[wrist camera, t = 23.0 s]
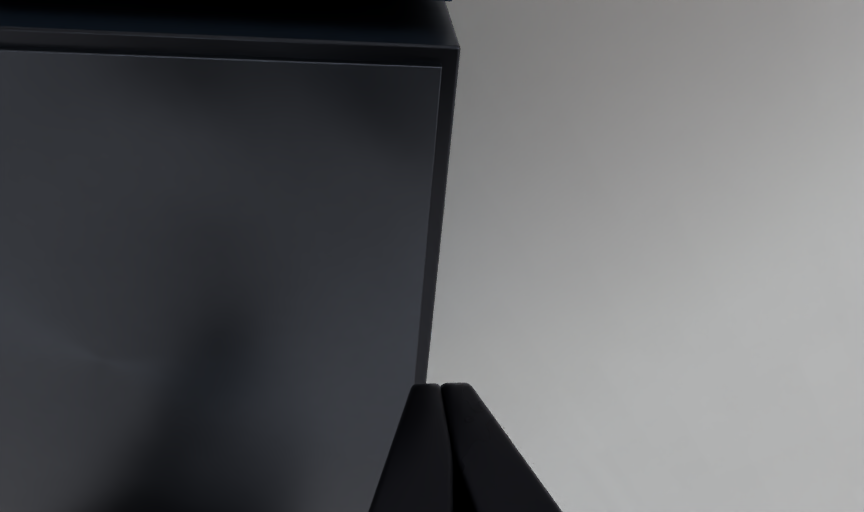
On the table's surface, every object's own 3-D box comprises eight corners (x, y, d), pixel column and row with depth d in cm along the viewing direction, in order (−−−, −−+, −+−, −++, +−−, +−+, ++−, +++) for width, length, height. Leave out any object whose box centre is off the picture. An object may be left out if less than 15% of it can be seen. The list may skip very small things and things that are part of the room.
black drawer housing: (399, 340, 25) (412, 528, 19) (6, 344, 24) (-112, 549, 18) (424, -63, 17) (462, 49, 11) (-187, -100, 15) (-546, 7, 9)
